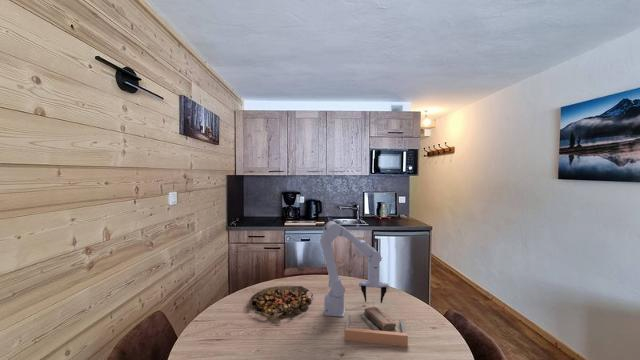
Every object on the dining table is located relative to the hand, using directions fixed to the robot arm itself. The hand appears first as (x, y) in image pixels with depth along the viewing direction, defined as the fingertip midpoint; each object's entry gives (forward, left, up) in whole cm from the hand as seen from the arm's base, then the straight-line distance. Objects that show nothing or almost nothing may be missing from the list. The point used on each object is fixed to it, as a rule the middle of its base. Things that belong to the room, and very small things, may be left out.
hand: (373, 301), depth 135 cm
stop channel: (0, -19, -4) cm, 19 cm away
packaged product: (+2, -14, -5) cm, 15 cm away
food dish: (-47, -1, -5) cm, 47 cm away
